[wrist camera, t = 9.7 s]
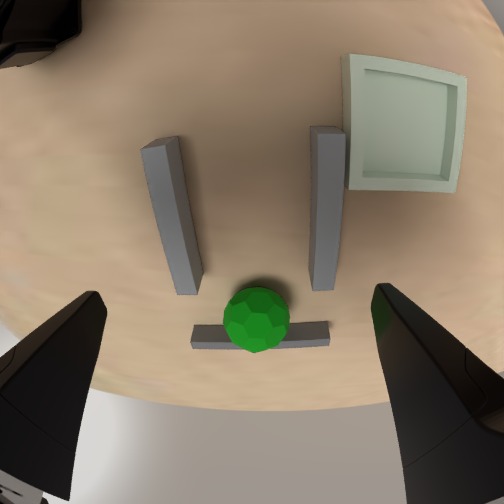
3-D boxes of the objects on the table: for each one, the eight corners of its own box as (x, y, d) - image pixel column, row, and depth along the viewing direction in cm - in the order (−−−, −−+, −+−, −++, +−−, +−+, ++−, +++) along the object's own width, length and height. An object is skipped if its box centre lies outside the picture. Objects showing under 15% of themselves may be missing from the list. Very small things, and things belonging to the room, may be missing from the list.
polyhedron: (226, 316, 25) (220, 360, 21) (227, 272, 22) (220, 318, 18) (283, 321, 25) (285, 365, 21) (292, 277, 22) (298, 324, 18)
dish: (341, 55, 13) (349, 53, 12) (451, 75, 12) (466, 77, 11) (341, 179, 17) (348, 190, 16) (442, 183, 17) (455, 193, 15)
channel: (148, 140, 16) (132, 150, 14) (342, 126, 16) (354, 134, 13) (196, 332, 26) (191, 353, 24) (325, 328, 25) (329, 350, 23)
